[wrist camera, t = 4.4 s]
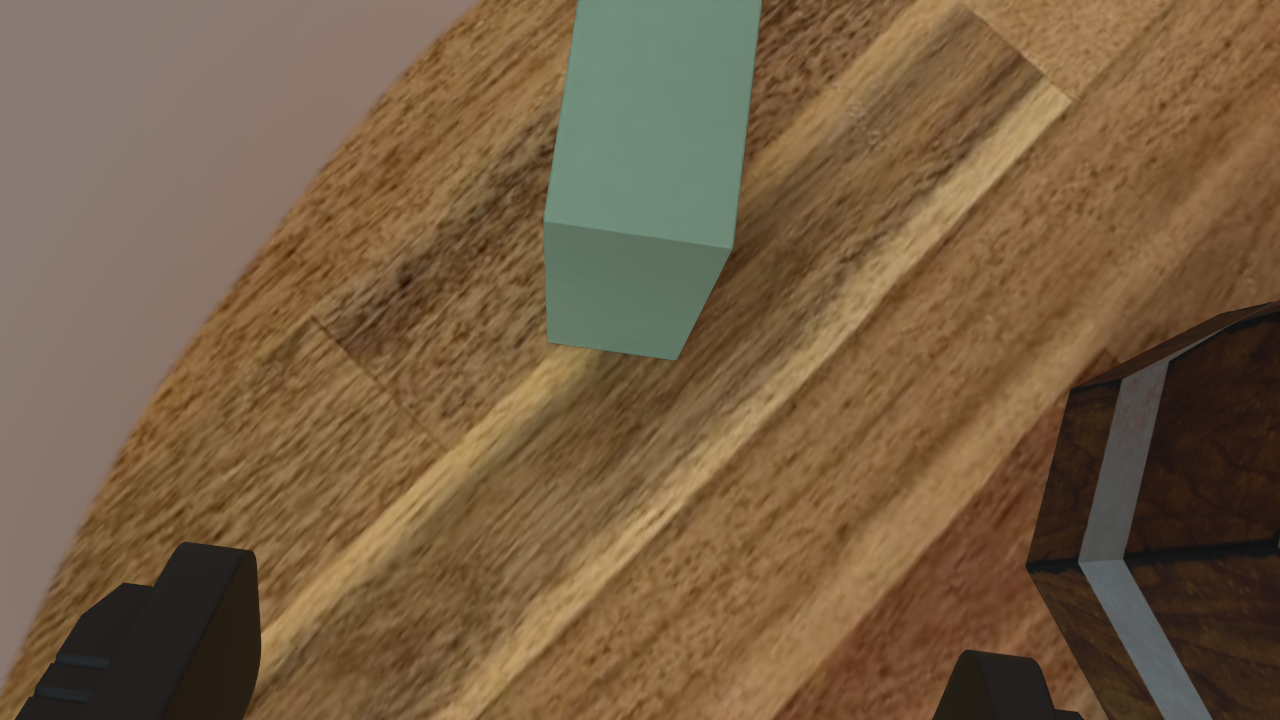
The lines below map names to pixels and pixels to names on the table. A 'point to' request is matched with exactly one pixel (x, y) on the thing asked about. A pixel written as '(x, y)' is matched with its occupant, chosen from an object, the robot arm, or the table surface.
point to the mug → (1172, 526)
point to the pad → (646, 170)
